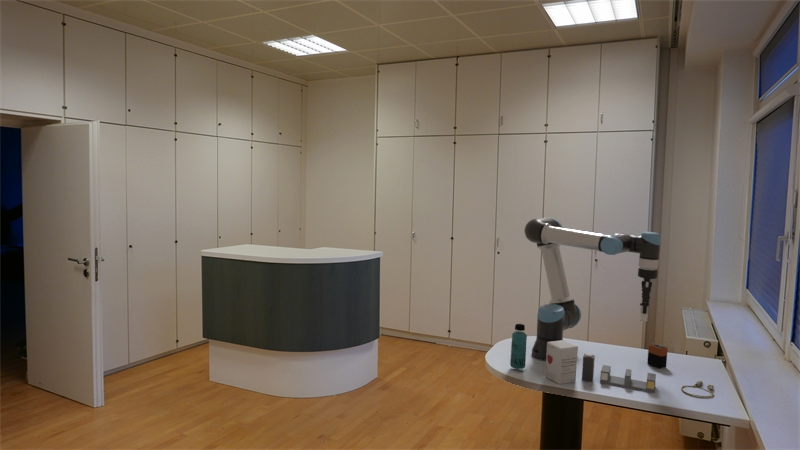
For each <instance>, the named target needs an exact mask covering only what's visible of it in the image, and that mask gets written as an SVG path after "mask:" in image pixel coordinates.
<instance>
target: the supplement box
mask: <svg viewBox="0 0 800 450" xmlns="http://www.w3.org/2000/svg"><path fill="white" fill-rule="evenodd" d="M578 351H579V346H578V345H576V344H573V343H571V342H570V341H566V340H564V339H563V340H560V341H551V342H547V354H546V361H545V373H544V376H545V378H548V379H549V380H551V381H552V382H554V383H556V384H558V385H563V384H567V383H574V382H576V380H577V379H576V378H577V367H578V366H577V365H578V364H577V363H578V353H579V352H578Z"/></svg>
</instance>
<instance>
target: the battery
mask: <svg viewBox="0 0 800 450" xmlns="http://www.w3.org/2000/svg"><path fill="white" fill-rule="evenodd" d="M667 361H668V347H667V346H665V345H664V344H658V343H656V342H652V343H651V344H648V349H647V365H649V366H652V367H654V368H658V369H664V368H667V364H668V363H667Z"/></svg>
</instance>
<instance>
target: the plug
mask: <svg viewBox="0 0 800 450" xmlns="http://www.w3.org/2000/svg"><path fill="white" fill-rule="evenodd" d="M582 357H583V358H582V370H581V371H582V372H581V381H583V382H584V381H585V382H588V383H589V382H590V383H593V381H594V374H595V373H594V372H595V358H596V356H595V355H593V353H589V352H588V353H587V352H586V353H583V356H582Z"/></svg>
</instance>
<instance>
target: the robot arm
mask: <svg viewBox="0 0 800 450" xmlns="http://www.w3.org/2000/svg"><path fill="white" fill-rule="evenodd" d="M524 236H525V238H526V239H527V240H528V241H530V242H531V243H534V244H536V246H537V248H538V249H539V250H540V251H541V256H542V260H543V265H544V270H545V274H546V277H547V278H546V279H547V283H548V288H549V291H550V298H551V299H550V301H549V302H548V304H547V303H546V304H543V305H540V306H539V307H538V309H537V317H536V318H537V322H536V339H535V341H534V344H533V346H532V348H531V355H532V357H533V358H536V359H537V360H541V361H545V362H546V354H547V342H551V341H560V340H564V331H566V330H569V329H572V328H574V327H575V326H578V324H579V323H580V321H581V319H582V310H581V309H580V307H579V306H578V305H577V304H576V303H575V300H574V297H572V296H570V291H569V285H568V282H567V276H566V273H565V267H564V263H563V259H562V254H561V249H560V246H566V247H567V246H568V247H572V248H578V249H585V250H589V251H595V252H601V253H604V254H606V255H608V256H609V255H610V256H611V255H612V256H614V255H615V256H616V255H617V254H622V253H626V252H627V253H634V254H639V257H638V264H637V265H638V268H637V277H639V278H641V279H643V280H641V299H640V300H641V301H640V304H639V306H640V310H639V313H640V317H639V318H640V319H639V321H641V322H648V316H649V314H648V313H649V306H650V299H651V297H650V293H652V292H651V291H652V286H653V282H652V281H651V280H655V279H656V280H657V279H658V270H657V269H658V268H659V265H660V264H661V262H660V261H659V260H660V252H661V251H660V249H661V244H662V243H661V234H660V233H658V232H655V231H654V232H653V231H642V232H641V235H636V234H635V235H633V234H626V233H618V232H617V233H614V234H613V235H609V234H603V233H596V232H591V231H583V230H577V229H571V228H565V227H564V228H563V225H562V223H561V222H560V221H559V220H558V219H556V218H553V217H541V218H532V219H531V220H529V221H528V222H527V223H526V224H525V227H524Z"/></svg>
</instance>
